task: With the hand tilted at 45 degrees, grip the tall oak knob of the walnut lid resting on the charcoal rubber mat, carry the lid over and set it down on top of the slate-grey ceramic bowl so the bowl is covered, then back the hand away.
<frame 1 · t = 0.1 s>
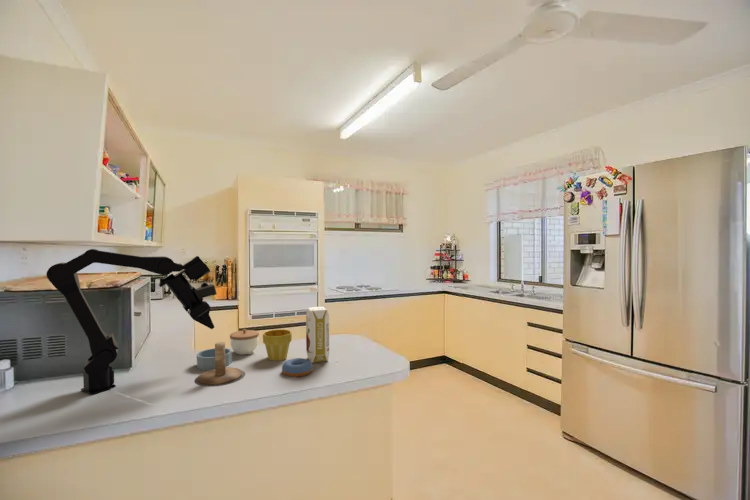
hand: (210, 325, 126), 15 cm above the counter, tool tilted 35°, fingers open, 9 cm apart
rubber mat: (220, 378, 118), on the counter
lidded jar: (244, 353, 144), on the counter
plant pot: (277, 358, 137), on the counter
juice carton: (317, 359, 136), on the counter
walnut lid: (220, 376, 118), resting on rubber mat
ceramic bowl: (214, 365, 130), on the counter
doughnut: (297, 373, 123), on the counter
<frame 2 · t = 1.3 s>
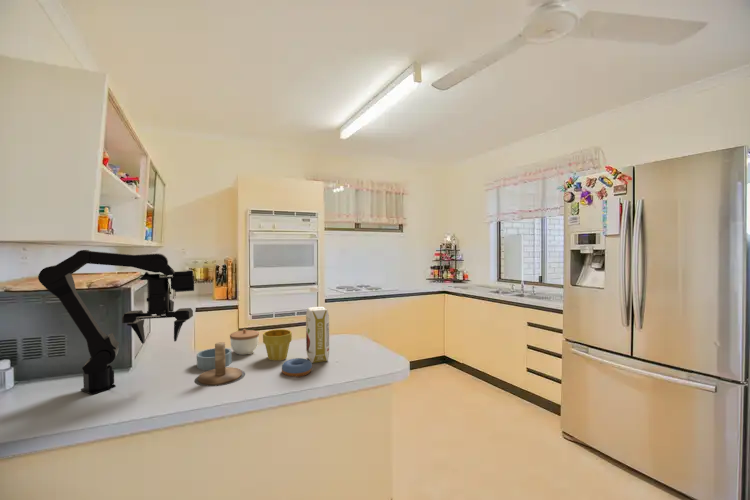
hand: (159, 342, 117), 12 cm above the counter, tool pointing down, fingers open, 9 cm apart
nothing on the counter moved.
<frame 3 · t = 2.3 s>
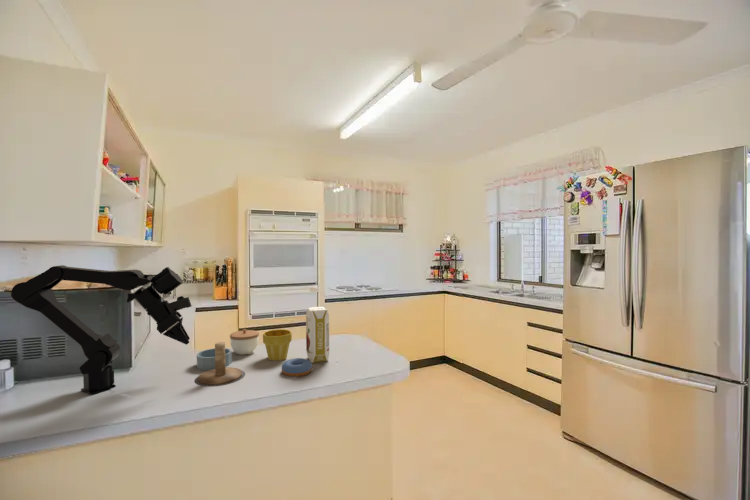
hand: (188, 341, 116), 12 cm above the counter, tool tilted 35°, fingers open, 9 cm apart
nothing on the counter moved.
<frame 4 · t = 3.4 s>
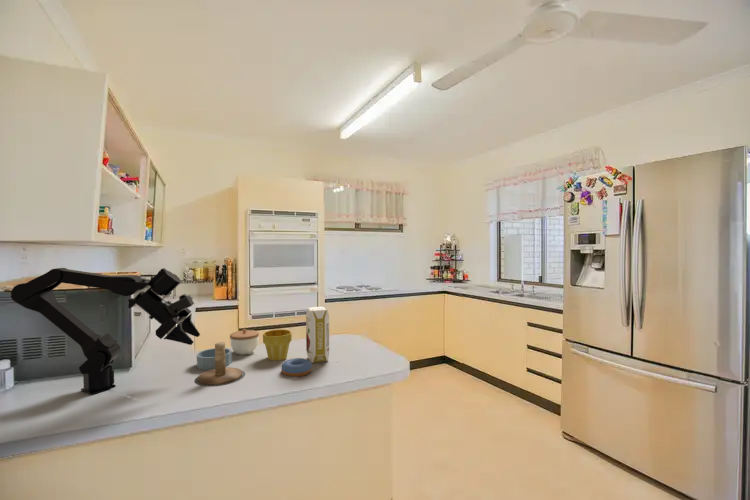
hand: (195, 339, 116), 13 cm above the counter, tool tilted 45°, fingers open, 9 cm apart
nothing on the counter moved.
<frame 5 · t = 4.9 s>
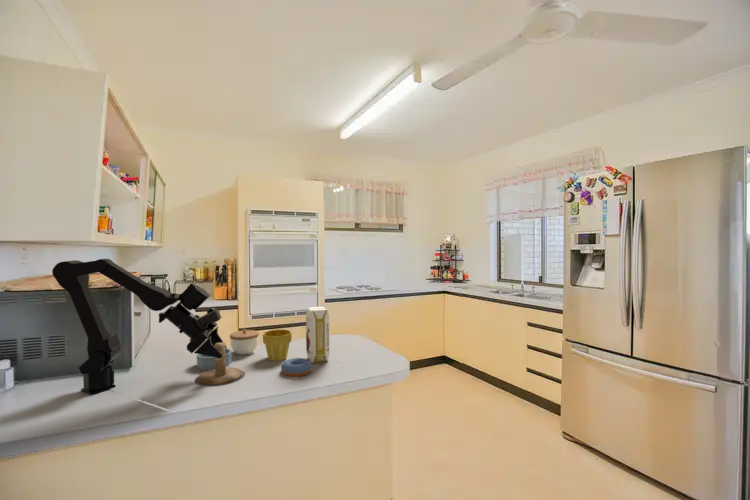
hand: (223, 352, 118), 8 cm above the counter, tool tilted 45°, fingers open, 9 cm apart
nothing on the counter moved.
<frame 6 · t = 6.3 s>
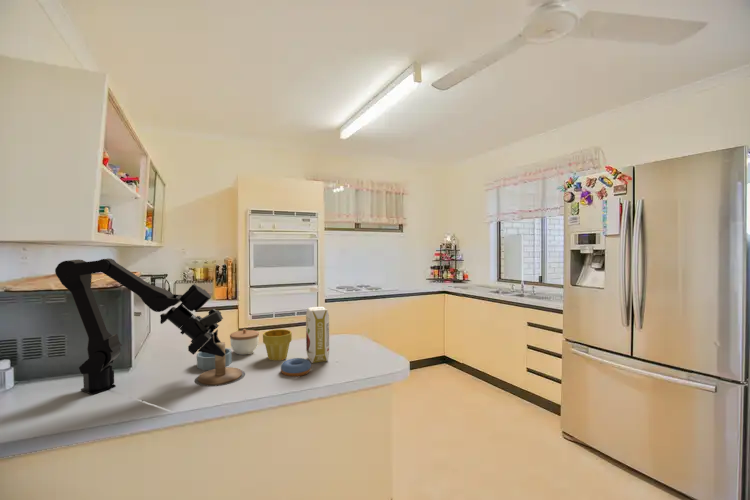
hand: (224, 353, 118), 8 cm above the counter, tool tilted 45°, fingers closed on walnut lid, 3 cm apart
walnut lid: (220, 376, 118), resting on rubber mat, touching gripper
everything else where it was.
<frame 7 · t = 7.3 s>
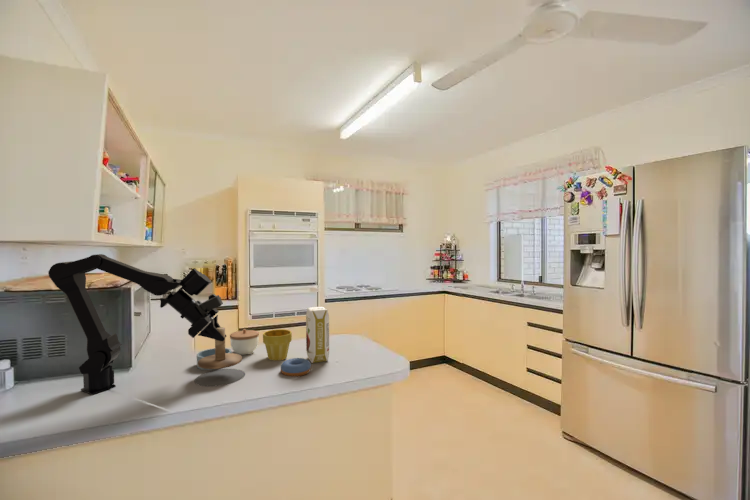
hand: (224, 338, 118), 13 cm above the counter, tool tilted 45°, fingers closed on walnut lid, 3 cm apart
walnut lid: (220, 361, 118), point 5 cm above the counter, touching gripper
everything else where it was.
when the fingers open (13 cm above the counter, at t = 10.2 s): walnut lid stays where it is, resting on ceramic bowl.
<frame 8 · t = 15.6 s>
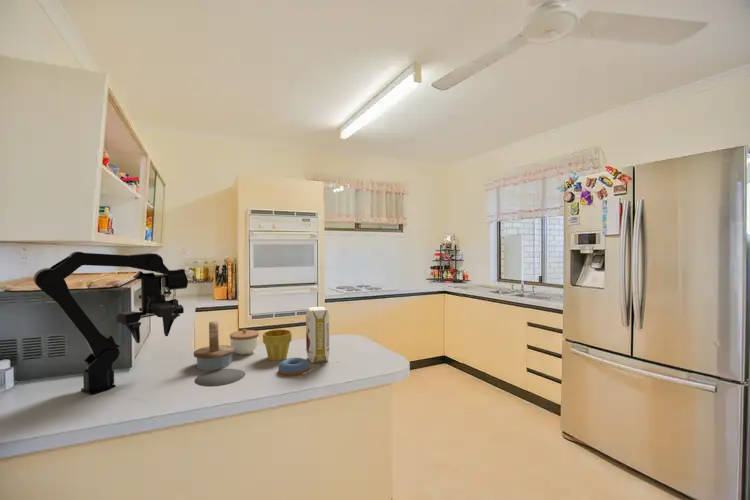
hand: (152, 339, 120), 12 cm above the counter, tool pointing down, fingers open, 9 cm apart
walnut lid: (214, 352, 130), point 4 cm above the counter, touching ceramic bowl
at the end: walnut lid 0.0 cm off-centre on the ceramic bowl, point 4.5 cm above the ceramic bowl's base; walnut lid tilted 0°; the gripper is holding nothing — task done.
